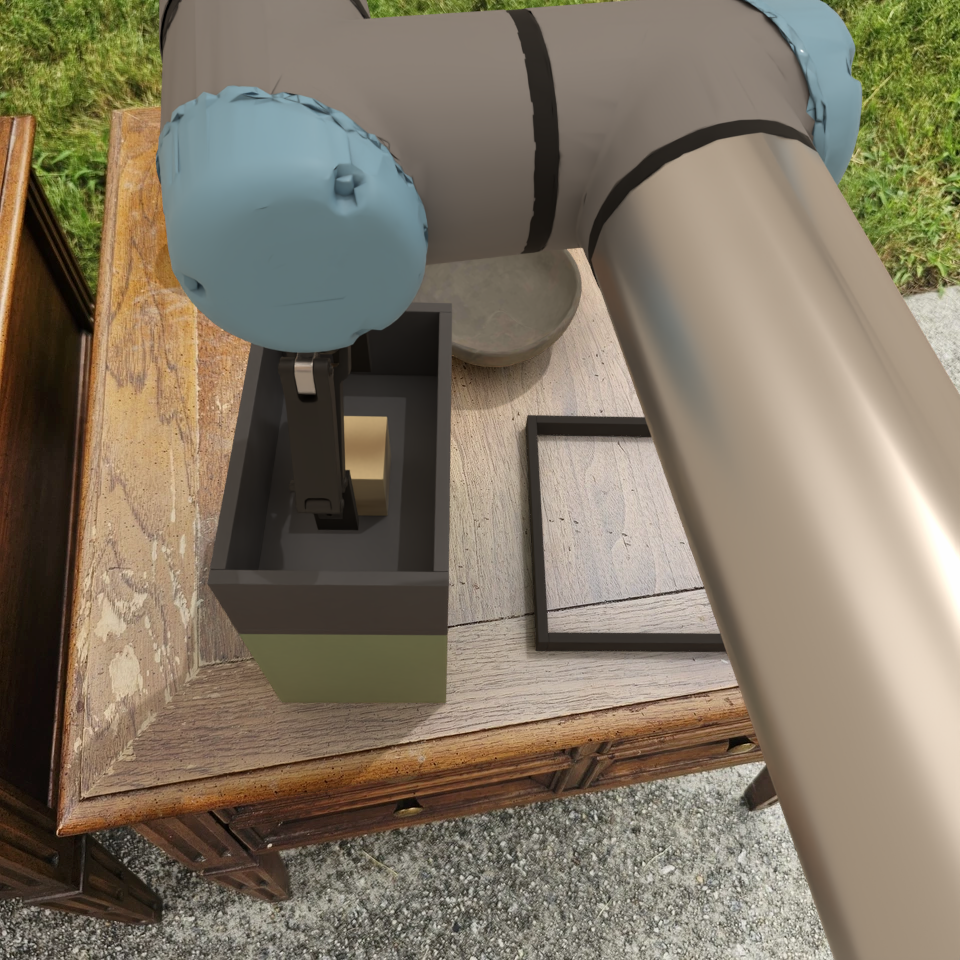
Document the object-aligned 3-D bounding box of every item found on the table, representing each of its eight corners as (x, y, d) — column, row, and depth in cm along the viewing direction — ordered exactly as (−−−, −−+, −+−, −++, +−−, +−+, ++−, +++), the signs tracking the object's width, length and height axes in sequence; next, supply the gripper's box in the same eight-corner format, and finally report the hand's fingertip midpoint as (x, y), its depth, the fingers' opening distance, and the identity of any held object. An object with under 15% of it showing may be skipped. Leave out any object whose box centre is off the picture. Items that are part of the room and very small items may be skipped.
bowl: (604, 363, 94) (616, 317, 87) (442, 418, 89) (442, 373, 82) (526, 247, 104) (532, 197, 97) (377, 290, 99) (372, 241, 92)
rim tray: (761, 652, 76) (770, 643, 74) (535, 651, 76) (538, 642, 73) (717, 431, 90) (724, 418, 88) (525, 427, 89) (527, 414, 87)
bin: (447, 635, 57) (448, 586, 50) (238, 634, 57) (206, 583, 49) (450, 374, 70) (452, 302, 62) (279, 371, 69) (259, 298, 61)
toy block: (387, 515, 61) (383, 479, 56) (315, 515, 61) (305, 478, 56) (391, 456, 64) (387, 416, 59) (322, 455, 64) (313, 415, 59)
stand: (446, 703, 73) (447, 635, 57) (281, 702, 72) (238, 634, 57) (449, 479, 85) (450, 374, 70) (308, 477, 84) (279, 371, 69)
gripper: (259, 51, 45) (311, 311, 63) (176, 403, 32) (271, 603, 50) (391, 55, 45) (405, 313, 63) (361, 406, 32) (390, 604, 51)
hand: (346, 442), depth 57 cm, fingers open, 13 cm apart
